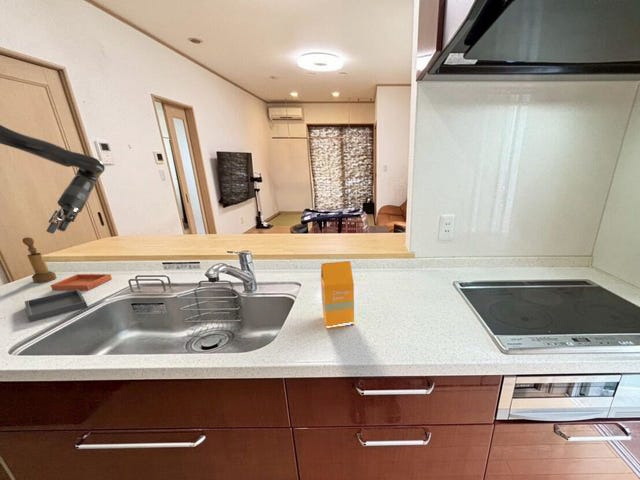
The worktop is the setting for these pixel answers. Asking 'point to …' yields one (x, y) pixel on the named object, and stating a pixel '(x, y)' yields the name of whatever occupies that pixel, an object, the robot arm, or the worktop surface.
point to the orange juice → (337, 293)
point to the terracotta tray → (81, 282)
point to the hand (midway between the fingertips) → (55, 231)
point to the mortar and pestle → (38, 263)
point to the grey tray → (54, 305)
